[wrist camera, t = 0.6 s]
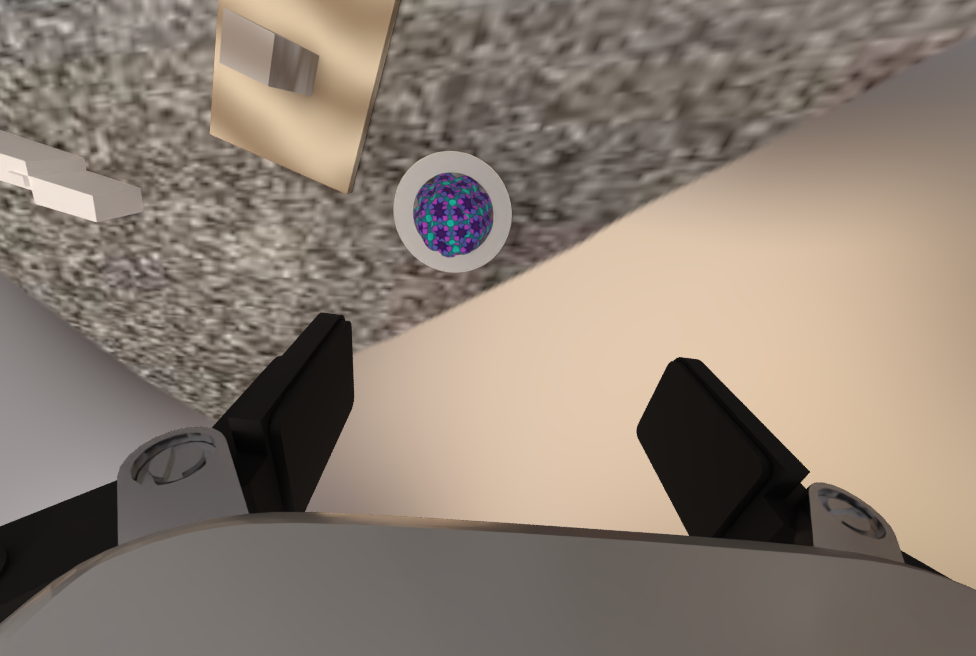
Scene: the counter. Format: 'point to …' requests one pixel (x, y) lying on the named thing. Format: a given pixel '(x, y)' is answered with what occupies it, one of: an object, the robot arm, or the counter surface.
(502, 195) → the pudding
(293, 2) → the post stand
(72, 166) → the white stepped block
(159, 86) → the counter surface
